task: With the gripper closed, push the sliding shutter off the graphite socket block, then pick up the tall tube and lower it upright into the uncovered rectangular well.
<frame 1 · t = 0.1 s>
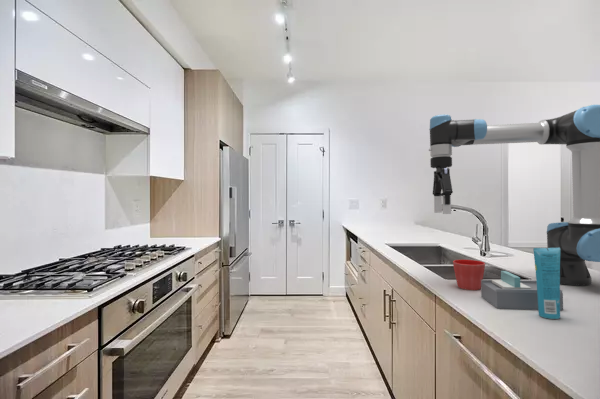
hand: (442, 213, 129), 28 cm above the countertop, fingers open, 13 cm apart
shutter: (510, 280, 109), point 7 cm above the countertop, slide at 0.0 cm
tube: (548, 317, 96), on the countertop
socket: (510, 302, 109), on the countertop
flower pot: (469, 288, 128), on the countertop
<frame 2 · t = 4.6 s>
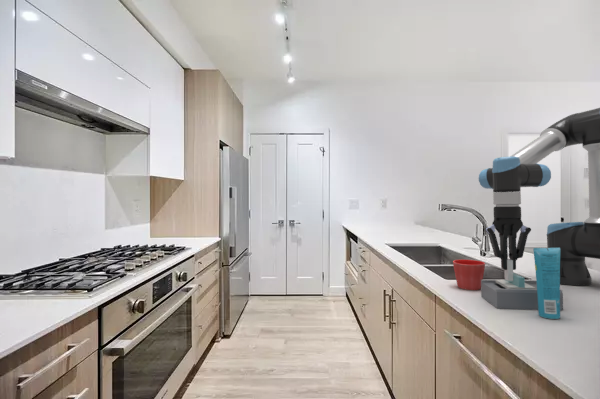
hand: (508, 279, 109), 7 cm above the countertop, fingers closed
shutter: (514, 280, 108), point 7 cm above the countertop, slide at 1.2 cm, touching gripper
everything else where it was.
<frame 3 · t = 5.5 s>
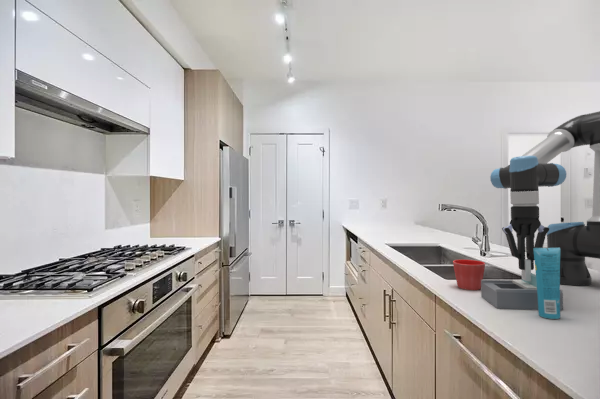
hand: (526, 280, 108), 7 cm above the countertop, fingers closed
shutter: (531, 280, 108), point 7 cm above the countertop, slide at 6.3 cm, touching gripper
everything else where it was.
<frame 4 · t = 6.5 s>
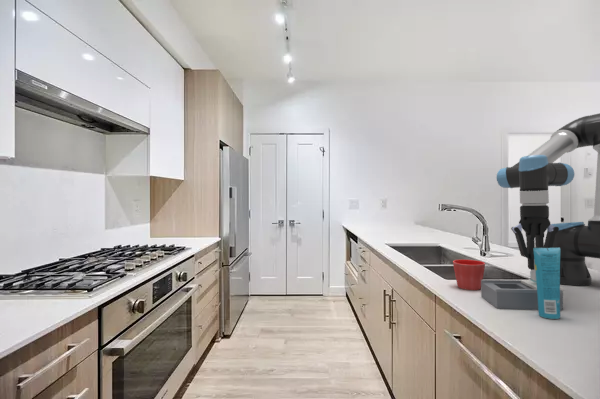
hand: (535, 279, 108), 7 cm above the countertop, fingers closed
shutter: (541, 280, 107), point 7 cm above the countertop, slide at 9.0 cm, touching gripper
everything else where it was.
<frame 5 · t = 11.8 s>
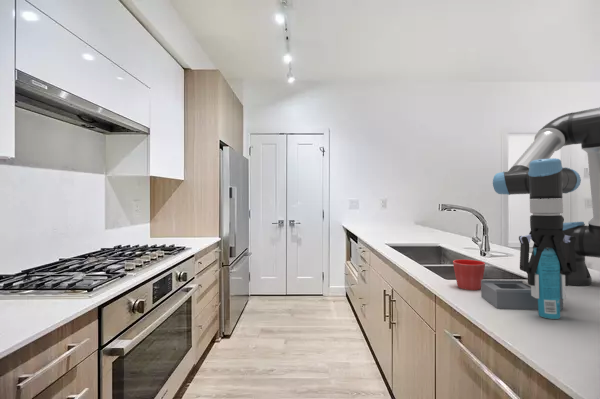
hand: (548, 297, 96), 5 cm above the countertop, fingers closed on tube, 6 cm apart
shutter: (542, 280, 107), point 7 cm above the countertop, slide at 9.5 cm
tube: (548, 317, 96), on the countertop, touching gripper
everything else where it was.
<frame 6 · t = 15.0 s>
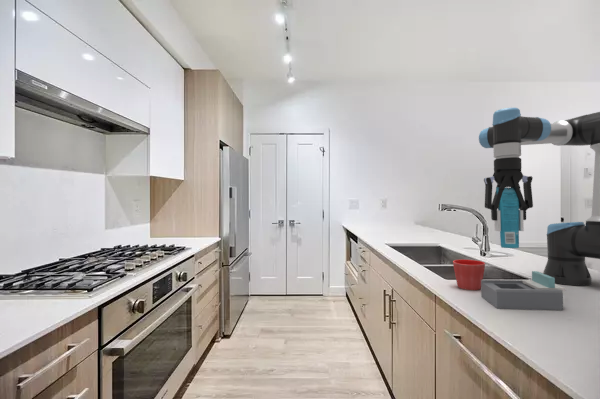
hand: (508, 230, 109), 23 cm above the countertop, fingers closed on tube, 6 cm apart
tube: (509, 248, 109), point 17 cm above the countertop, touching gripper
everything else where it was.
when the fingers open (7 cm above the countertop, at t = 18.1 s): tube drops 1 cm, resting in socket.
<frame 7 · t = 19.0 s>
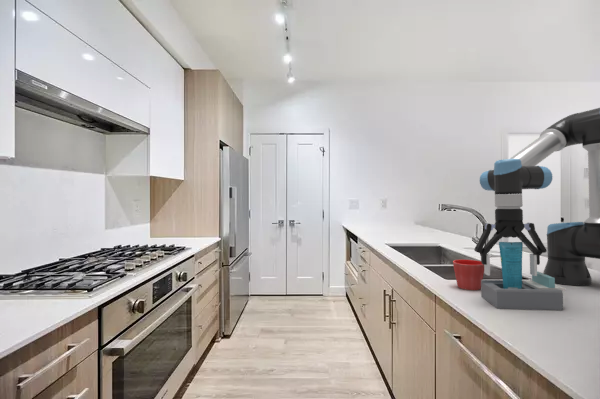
hand: (510, 275, 109), 9 cm above the countertop, fingers open, 13 cm apart
tube: (512, 303, 109), resting in socket
everything else where it was.
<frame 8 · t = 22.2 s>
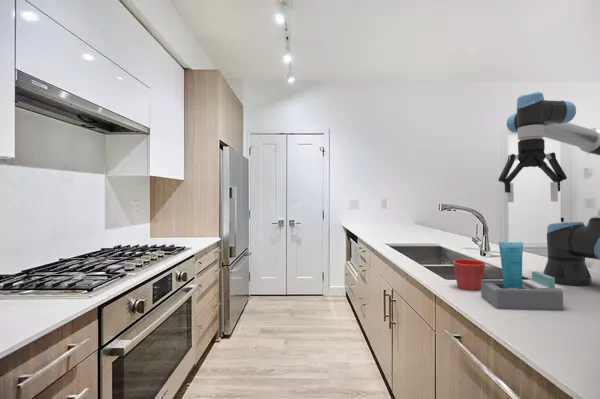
hand: (532, 202, 116), 32 cm above the countertop, fingers open, 13 cm apart
nothing on the countertop moved.
at the end: tube 0.8 cm off-centre on the socket, point 0.0 cm above the socket's base; shutter slide at 9.5 cm; tube tilted 0° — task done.
